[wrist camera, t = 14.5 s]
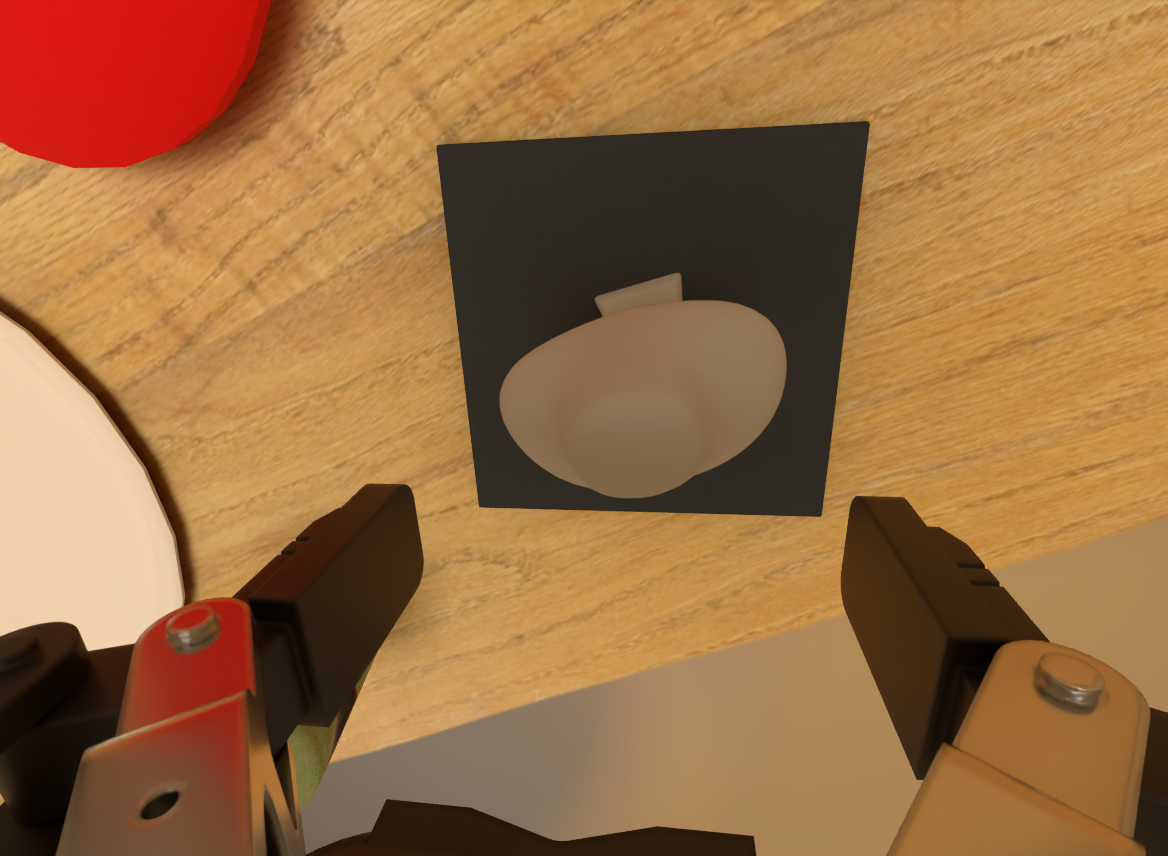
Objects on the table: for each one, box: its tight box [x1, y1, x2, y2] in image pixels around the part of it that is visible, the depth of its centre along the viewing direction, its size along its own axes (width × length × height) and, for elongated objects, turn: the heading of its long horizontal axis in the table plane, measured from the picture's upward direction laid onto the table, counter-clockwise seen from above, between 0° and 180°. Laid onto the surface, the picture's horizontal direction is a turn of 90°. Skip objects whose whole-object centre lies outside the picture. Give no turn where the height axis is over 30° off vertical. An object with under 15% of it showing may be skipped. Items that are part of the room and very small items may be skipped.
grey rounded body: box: [500, 273, 787, 498], centre depth 18 cm, size 8×5×12 cm
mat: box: [437, 121, 870, 517], centre depth 24 cm, size 15×15×1 cm
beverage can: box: [289, 655, 376, 811], centre depth 25 cm, size 6×7×12 cm
